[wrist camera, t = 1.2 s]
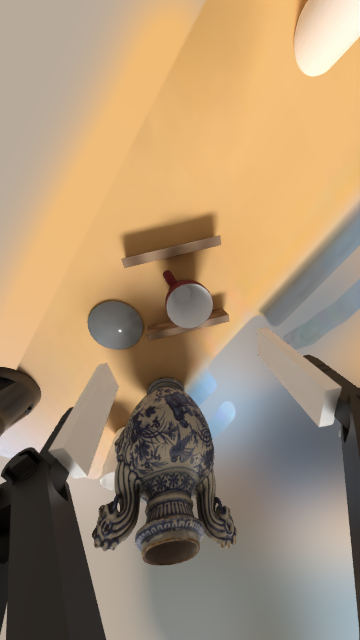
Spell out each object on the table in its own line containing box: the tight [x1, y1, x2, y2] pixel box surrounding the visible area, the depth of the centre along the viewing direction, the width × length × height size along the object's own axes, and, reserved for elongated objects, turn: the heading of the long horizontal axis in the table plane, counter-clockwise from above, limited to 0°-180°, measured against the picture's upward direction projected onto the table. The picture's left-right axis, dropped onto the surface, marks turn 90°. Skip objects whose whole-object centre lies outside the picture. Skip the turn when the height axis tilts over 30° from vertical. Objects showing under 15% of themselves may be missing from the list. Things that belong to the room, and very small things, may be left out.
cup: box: [100, 427, 125, 491], centre depth 47 cm, size 9×9×12 cm
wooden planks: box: [121, 235, 229, 341], centre depth 35 cm, size 18×17×4 cm
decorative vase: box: [92, 377, 237, 565], centre depth 35 cm, size 21×19×28 cm
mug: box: [163, 270, 213, 329], centre depth 32 cm, size 11×8×10 cm
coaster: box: [88, 301, 143, 350], centre depth 38 cm, size 12×12×1 cm
